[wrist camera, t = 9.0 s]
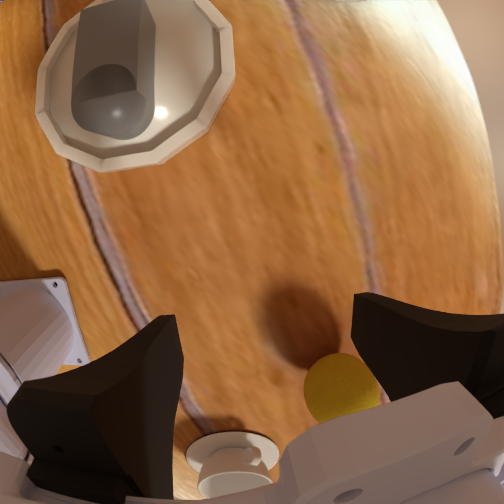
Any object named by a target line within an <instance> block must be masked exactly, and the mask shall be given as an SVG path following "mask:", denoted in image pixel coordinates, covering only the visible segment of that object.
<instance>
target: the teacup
mask: <svg viewBox="0 0 504 504" xmlns="http://www.w3.org/2000/svg"><path fill="white" fill-rule="evenodd" d="M278 459H279V450H278V447H277V446H276V445H275V444H274V443H273V442H272V441H271V440H269V439H267V438H265V437H263V436H260V435H257V434H253V433H247V432H222V433H216V434H212V435H208V436H205V437H203V438H201V439H199V440H197V441H195V442H194V443H193V444H192V445H191V446H190V447H189V448H188V450H187V452H186V460H187V462H188V464H189V465H190V467H191V468H192V469H193V470H195V471H196V472H198V473H200V474H199V480H198V485H197V488H198V491H199V493H200V494H201V495H202V496H204V497H206V498H207V499H209V498H214V497H219V496H224V495H229V494H233V493H238V492H242V491H246V490H250V489H254V488H257V487H261V486H264V485H268V484H271V483H273V482H272V479H271V477H270V474H269V471H268V470H270V469H271V468H272V467H273V466H274V465H275V464H276V463H277V461H278Z"/></svg>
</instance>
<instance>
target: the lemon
mask: <svg viewBox="0 0 504 504" xmlns="http://www.w3.org/2000/svg"><path fill="white" fill-rule="evenodd" d="M304 397H305V401H306V405H307V407H308V409H309V411H310V413H311V414H312V415H313V417H314V418H315V420H316V421H317V422H318V423H319V424H320V423H323V422H325V421H328V420H330V419H333V418H335V417H339V416H343V415H347V414H351V413H355V412H359V411H362V410H366V409H370V408H373V407H376V406H378V405H379V400H380V395H379V389H378V384H377V381H376V379H375V377H374V375H373V373H372V372H371V371H370V369H369V368H368V366H367V365H366V364H365V363H364V362H363V361H361V360H360V359H358V358H357V357H355V356H353V355H349V354H346V353H334V354H329V355H327V356H324V357H322V358H321V359H319V360H318V361H317V362H316V363H314V364H313V365H312V367H311V368H310V370H309V371H308V373H307V375H306V378H305V381H304Z"/></svg>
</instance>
